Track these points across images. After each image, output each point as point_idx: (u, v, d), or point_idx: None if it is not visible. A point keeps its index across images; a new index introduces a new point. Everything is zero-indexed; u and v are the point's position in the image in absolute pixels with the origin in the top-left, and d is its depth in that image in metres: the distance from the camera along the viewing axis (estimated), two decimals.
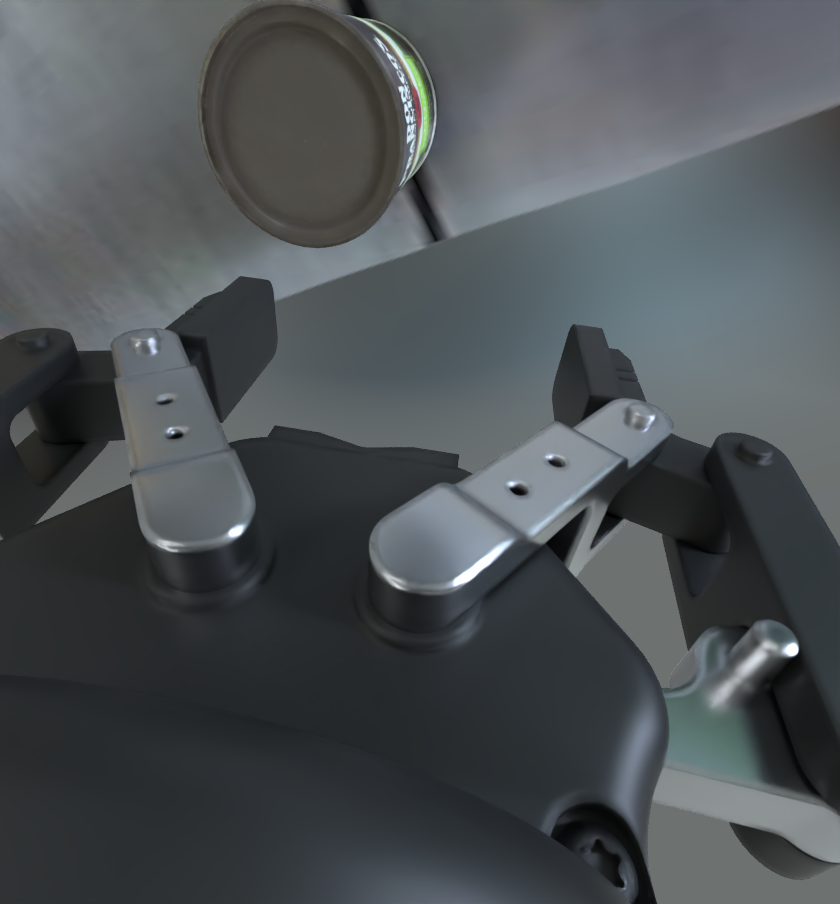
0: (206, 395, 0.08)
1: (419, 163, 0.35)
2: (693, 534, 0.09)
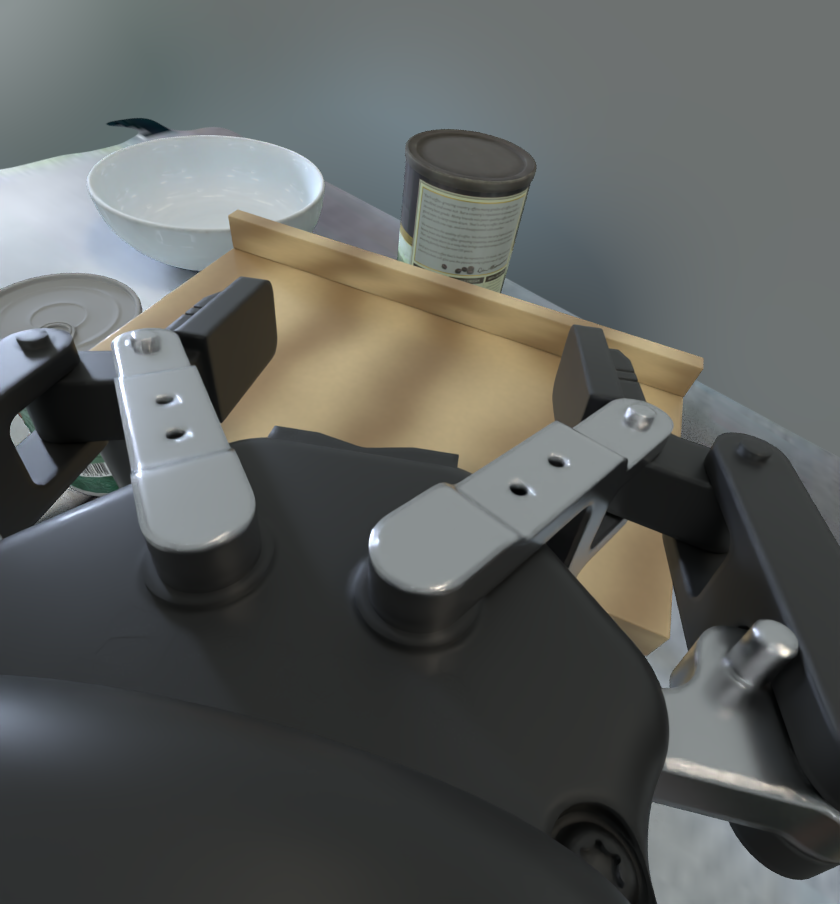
0: (206, 395, 0.08)
1: None
2: (693, 534, 0.09)
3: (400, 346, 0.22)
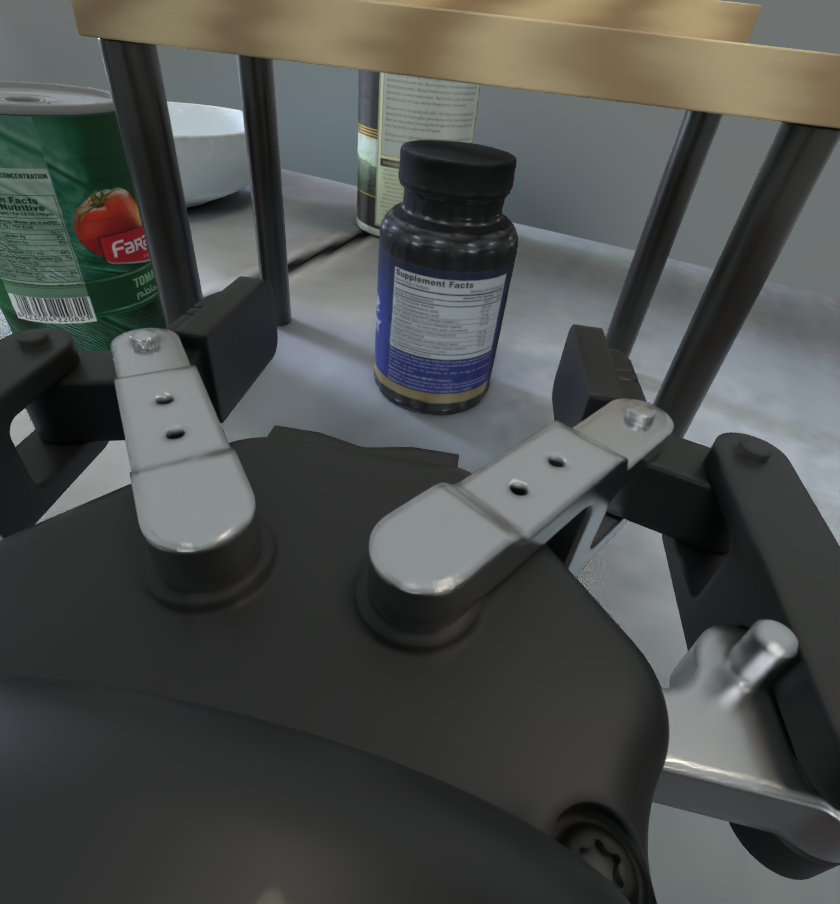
0: (206, 395, 0.08)
1: None
2: (693, 534, 0.09)
3: None
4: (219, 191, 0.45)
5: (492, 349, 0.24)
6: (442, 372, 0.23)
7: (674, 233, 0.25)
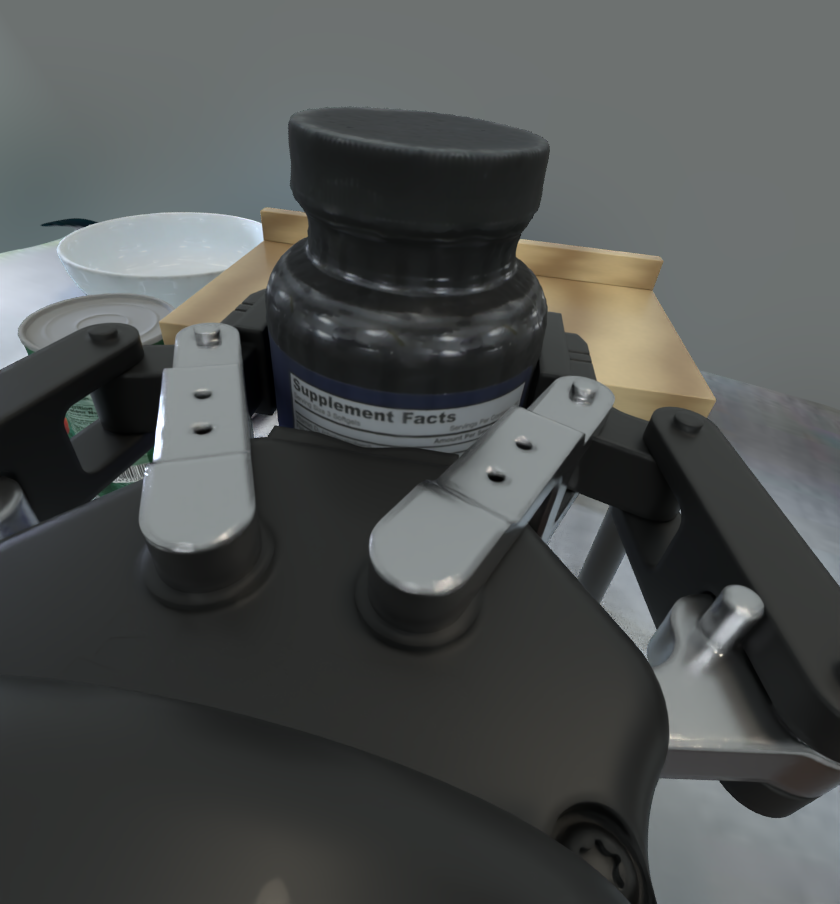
0: (243, 394, 0.08)
1: None
2: (635, 503, 0.10)
3: None
4: None
5: None
6: None
7: None
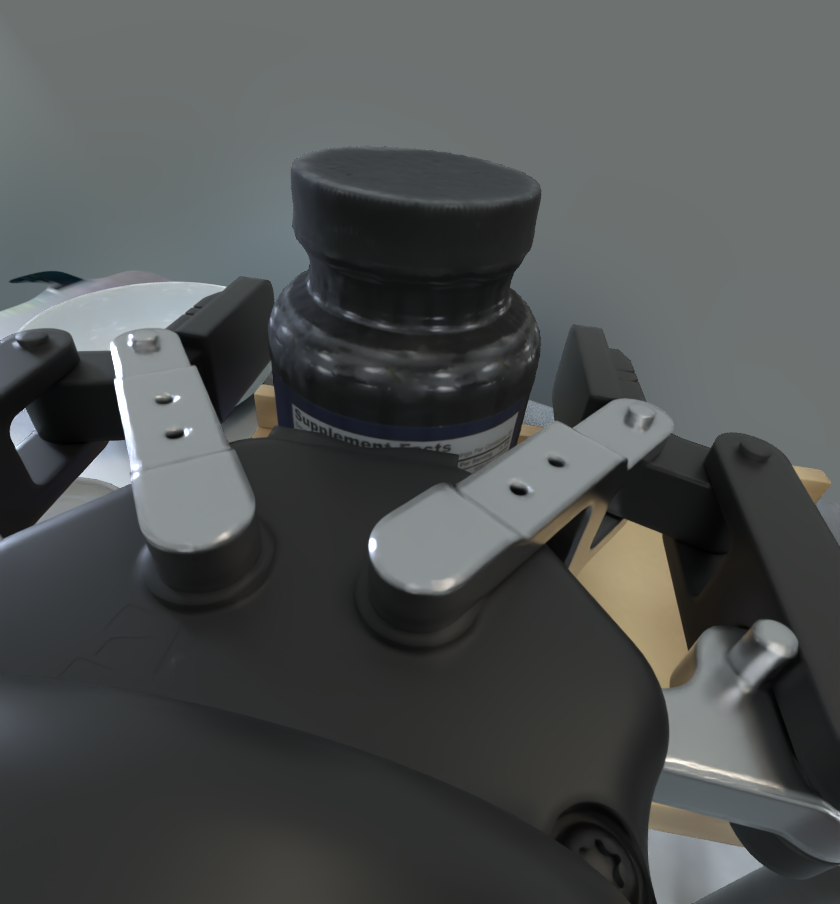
0: (206, 395, 0.08)
1: None
2: (693, 534, 0.09)
3: None
4: None
5: None
6: None
7: None
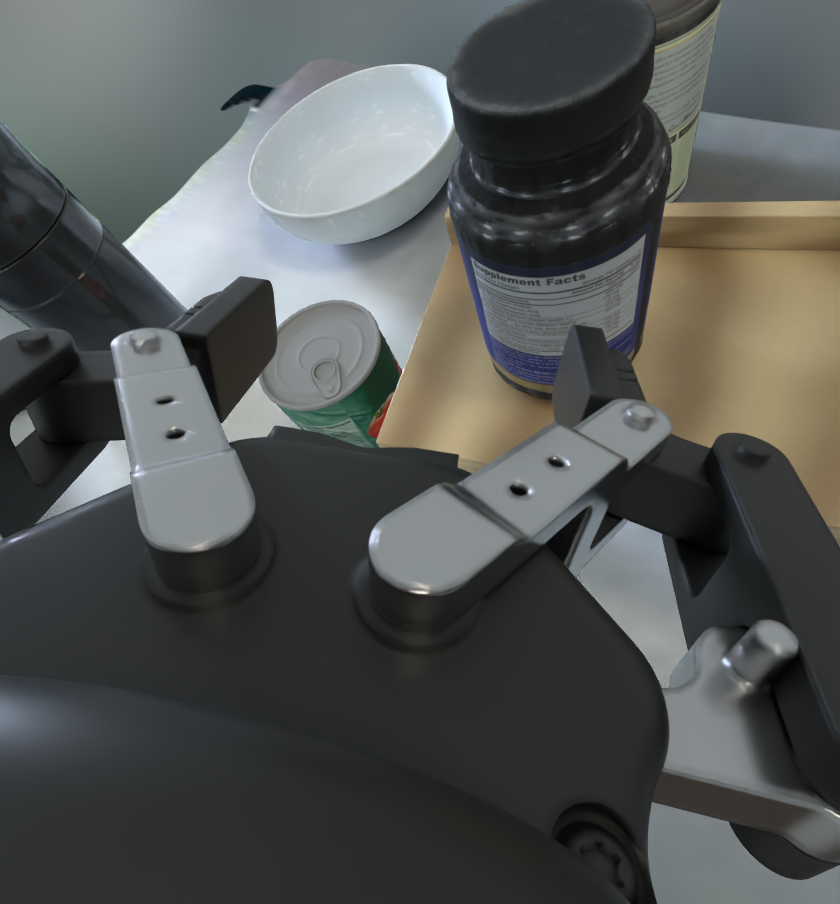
0: (206, 395, 0.08)
1: None
2: (693, 534, 0.09)
3: (666, 302, 0.21)
4: None
5: (636, 319, 0.17)
6: None
7: None
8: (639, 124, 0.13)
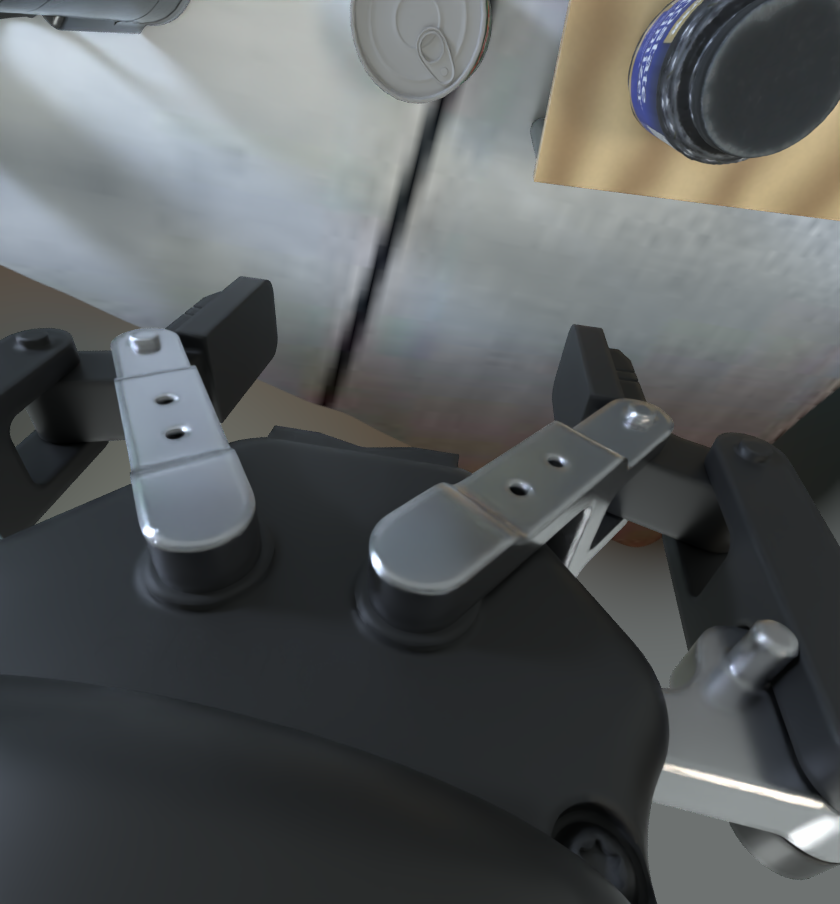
0: (206, 395, 0.08)
1: None
2: (693, 534, 0.09)
3: None
4: None
5: None
6: None
7: None
8: None
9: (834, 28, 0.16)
